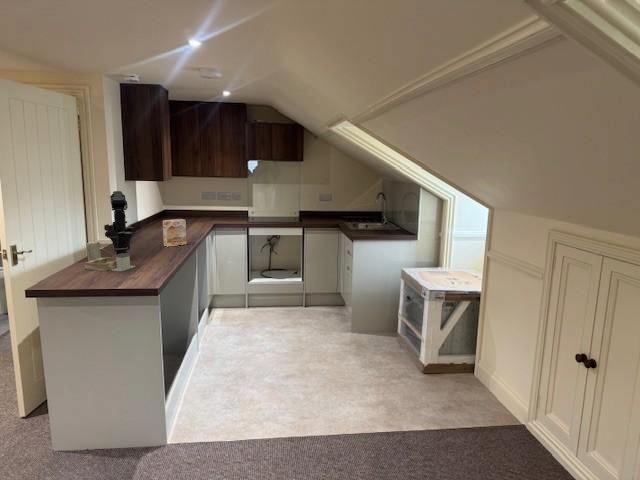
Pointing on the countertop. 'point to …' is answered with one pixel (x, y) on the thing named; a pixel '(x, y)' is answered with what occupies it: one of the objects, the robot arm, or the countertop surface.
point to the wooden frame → (101, 264)
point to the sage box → (123, 260)
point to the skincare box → (93, 251)
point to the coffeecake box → (174, 232)
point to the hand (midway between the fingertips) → (121, 246)
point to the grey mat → (122, 269)
